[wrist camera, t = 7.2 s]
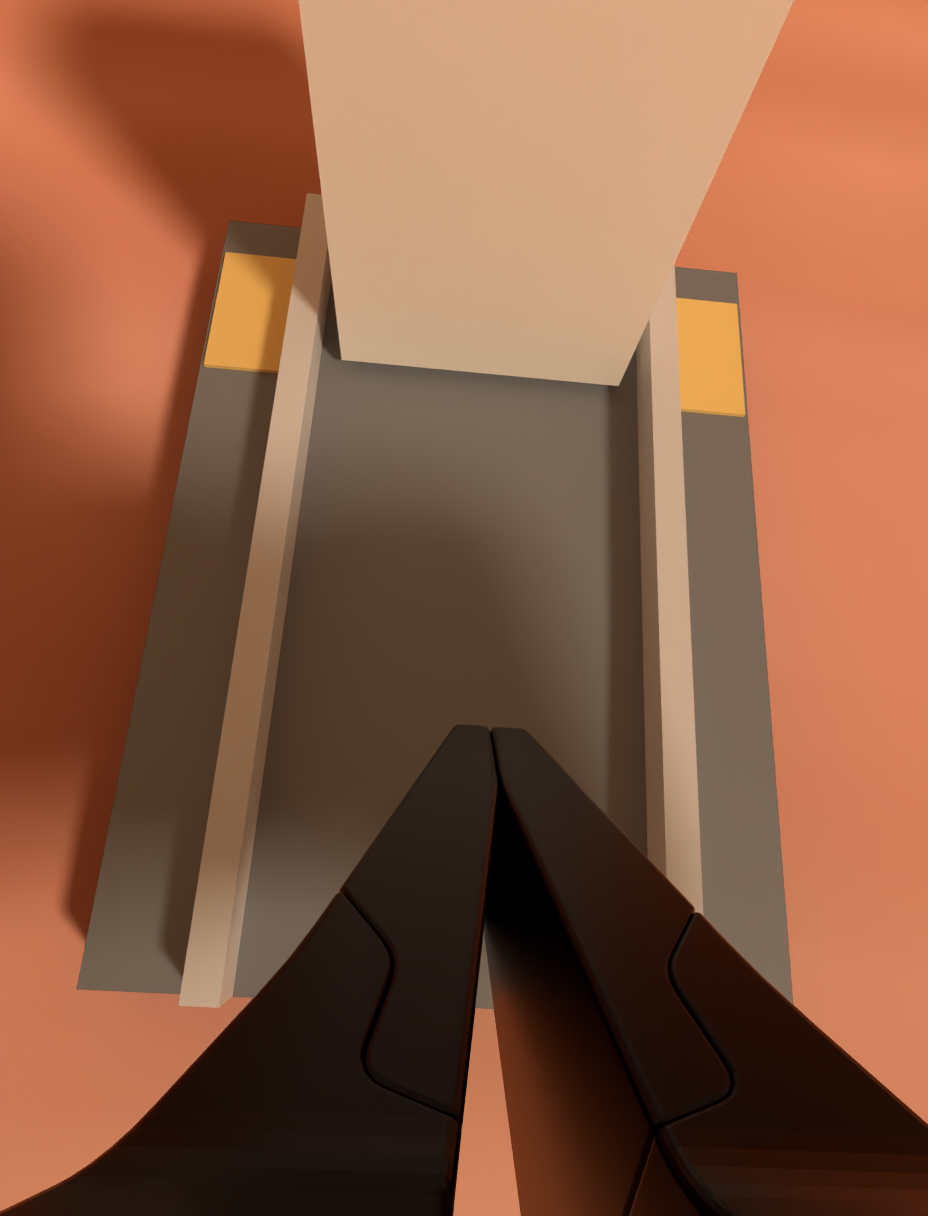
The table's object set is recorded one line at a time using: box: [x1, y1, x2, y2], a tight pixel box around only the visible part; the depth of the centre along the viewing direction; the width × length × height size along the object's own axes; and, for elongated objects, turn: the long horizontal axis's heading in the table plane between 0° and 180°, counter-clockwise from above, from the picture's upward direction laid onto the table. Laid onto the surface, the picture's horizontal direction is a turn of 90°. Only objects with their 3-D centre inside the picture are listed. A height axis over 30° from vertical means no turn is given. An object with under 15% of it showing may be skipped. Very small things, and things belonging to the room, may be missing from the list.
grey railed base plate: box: [77, 193, 793, 1009], centre depth 15 cm, size 16×12×2 cm
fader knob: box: [298, 0, 794, 386], centre depth 12 cm, size 3×6×11 cm, turn 87°
